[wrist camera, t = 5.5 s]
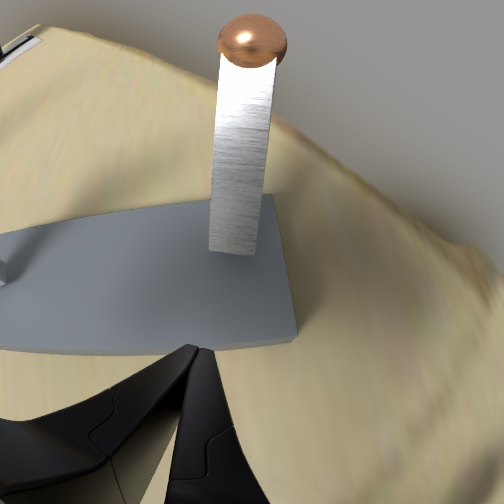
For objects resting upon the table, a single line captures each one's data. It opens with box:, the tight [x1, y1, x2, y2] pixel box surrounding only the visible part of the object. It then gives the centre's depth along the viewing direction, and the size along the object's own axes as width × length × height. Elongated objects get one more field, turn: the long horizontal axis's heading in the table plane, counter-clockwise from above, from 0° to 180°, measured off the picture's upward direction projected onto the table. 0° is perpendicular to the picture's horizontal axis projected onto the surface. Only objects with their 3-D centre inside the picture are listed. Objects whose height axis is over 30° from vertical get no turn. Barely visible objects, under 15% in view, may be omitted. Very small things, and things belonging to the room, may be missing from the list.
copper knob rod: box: [209, 14, 287, 256], centre depth 13 cm, size 3×3×12 cm
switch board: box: [0, 194, 298, 356], centre depth 17 cm, size 9×23×2 cm, turn 97°
